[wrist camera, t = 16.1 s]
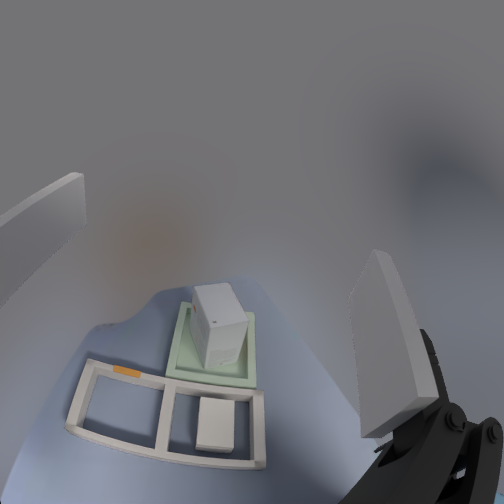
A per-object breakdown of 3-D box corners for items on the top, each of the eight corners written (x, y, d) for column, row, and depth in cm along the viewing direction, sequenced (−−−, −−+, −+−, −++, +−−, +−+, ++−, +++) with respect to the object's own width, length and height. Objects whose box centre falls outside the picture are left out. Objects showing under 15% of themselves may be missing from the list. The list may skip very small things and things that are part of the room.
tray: (251, 321, 50) (254, 312, 48) (252, 393, 37) (256, 386, 36) (181, 310, 48) (181, 301, 47) (166, 382, 36) (165, 374, 34)
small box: (237, 363, 41) (251, 321, 35) (203, 370, 38) (210, 328, 32) (219, 325, 46) (229, 280, 41) (188, 330, 44) (192, 284, 38)
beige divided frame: (259, 397, 37) (263, 389, 36) (261, 470, 27) (267, 466, 26) (91, 366, 34) (87, 356, 32) (70, 433, 24) (63, 427, 22)
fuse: (230, 409, 35) (234, 400, 33) (229, 453, 29) (234, 448, 27) (199, 405, 34) (200, 395, 32) (195, 450, 28) (196, 444, 26)
